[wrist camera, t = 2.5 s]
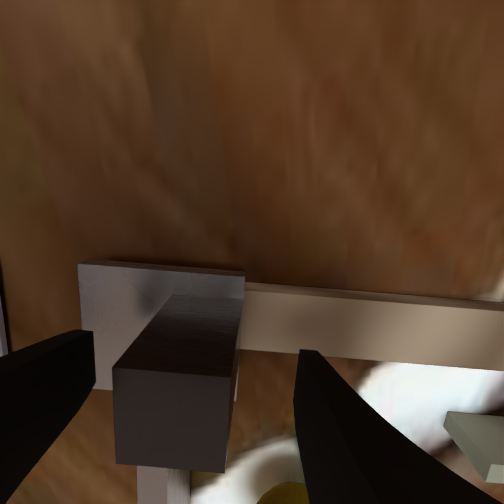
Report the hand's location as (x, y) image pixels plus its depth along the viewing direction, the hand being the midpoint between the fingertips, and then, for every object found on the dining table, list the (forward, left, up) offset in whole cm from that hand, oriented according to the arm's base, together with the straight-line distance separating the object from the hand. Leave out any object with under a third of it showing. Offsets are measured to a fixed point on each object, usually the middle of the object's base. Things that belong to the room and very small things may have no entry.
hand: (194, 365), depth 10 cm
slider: (-2, -6, -4) cm, 8 cm away
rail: (+5, 0, -5) cm, 7 cm away
